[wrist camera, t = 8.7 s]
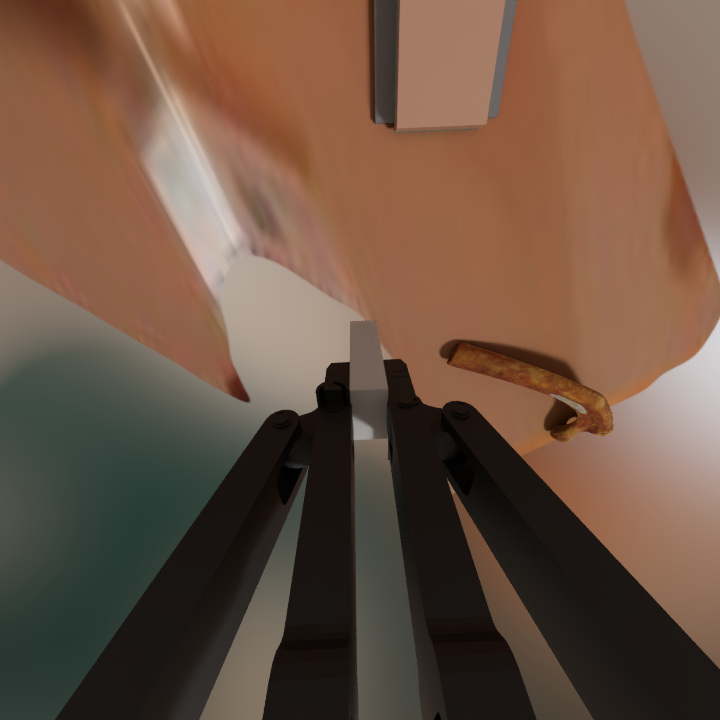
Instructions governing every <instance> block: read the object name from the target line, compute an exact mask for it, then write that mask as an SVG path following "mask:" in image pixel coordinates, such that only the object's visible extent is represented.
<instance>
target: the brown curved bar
mask: <svg viewBox="0 0 720 720" xmlns="http://www.w3.org/2000/svg"><path fill="white" fill-rule="evenodd" d="M447 364H448V365H451V366H454V367H457V368H461V369H465V370H469V371H473V372H476V373H479V374H483V375H487V376H491V377H494V378H498V379H502V380H505V381H508V382H511V383H514V384H517V385H520V386H524V387H527V388H529V389H533V390H536V391H538V392H541V393H544V394H546V395H549V396H551V397H554V398H556V399H558V400H560V401H562V402H564V403H566V404H567V405H569V406H570V407H571V408H572V409H574V410H575V411H576V412H577V415H578V418H577V419H576V420H575V421H574V422H572V423H570V424H567V425H557V426H554V427H553V428H552V429H551V432H550V435H551V436H552V437H553V438H554V439H556V440H558V441H561V442H569V441H570V440H571V439H572V438H573V437H574V436H575V435H576V434H578V433H579V432H590V433H593V434H595V435H600V436H606V435H608V434H609V433H611V432H612V431H613V427H614V425H613V416H612V412H611V409H610V407H609V404H608V403H607V400H606V399H605V397H604V396H603V395H602V394H600V393H599V392H596V391H594V390H592V389H590V388H588V387H586V386H583V385H581V384H579V383H577V382H574V381H572V380H569V379H567V378H565V377H563V376H560V375H557V374H555V373H552V372H549V371H547V370H544V369H541V368H539V367H536V366H533V365H530V364H527V363H525V362H522V361H519V360H515V359H512V358H510V357H507V356H505V355H503V354H498V353H495V352H492V351H489V350H486V349H483V348H480V347H476V346H473V345H470V344H468V343H464V342H459V343H458V344H457V345H456V347H455V348H454V350H453V351H452V352H451V354H450V358H449V360H448V361H447Z"/></svg>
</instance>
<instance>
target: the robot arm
mask: <svg viewBox="0 0 720 720" xmlns="http://www.w3.org/2000/svg"><path fill="white" fill-rule="evenodd" d="M316 397H317V403H318V408H317V409H316V410H314V411H312V412H310V413H307V414H304V415H301V416H298V414H297V413H296V412H294V411H291V410H281V411H278V412H275V413H274V414H271V415H270V416H269V417H268V418H267V419H266V420H265V422H264V423H263V425H262V426H261V427H260V429H259V430H258V432H257V433H256V434H255V436H254V437H253V439H252V440H251V442H250V443H249V444H248V446H247V447H246V449H245V450H244V452H243V453H242V454H241V456H240V457H239V459H238V460H237V461H236V463H235V464H234V466H233V467H232V469H231V470H230V472H229V473H228V474H227V476H226V477H225V479H224V480H223V481H222V483H221V484H220V486H219V487H218V489H217V490H216V491H215V493H214V494H213V496H212V497H211V499H210V500H209V501H208V503H207V504H206V506H205V507H204V509H203V510H202V511H201V513H200V514H199V516H198V517H197V518H196V520H195V521H194V523H193V524H192V526H191V527H190V528H189V530H188V531H187V533H186V534H185V536H184V537H183V538H182V540H181V541H180V543H179V544H178V545H177V547H176V548H175V550H174V551H173V553H172V554H171V556H170V557H169V558H168V560H167V561H166V563H165V564H164V565H163V567H162V568H161V570H160V571H159V573H158V574H157V575H156V577H155V578H154V580H153V581H152V582H151V584H150V585H149V587H148V588H147V590H146V591H145V592H144V594H143V595H142V597H141V598H140V600H139V601H138V603H137V604H136V605H135V607H134V608H133V610H132V611H131V613H130V614H129V615H128V617H127V618H126V619H125V621H124V622H123V624H122V625H121V627H120V628H119V629H118V631H117V632H116V634H115V635H114V637H113V638H112V639H111V641H110V642H109V644H108V645H107V647H106V648H105V649H104V651H103V652H102V654H101V655H100V657H99V658H98V659H97V661H96V662H95V664H94V665H93V666H92V668H91V669H90V671H89V672H88V674H87V675H86V676H85V678H84V679H83V681H82V682H81V684H80V685H79V687H78V688H77V689H76V691H75V692H74V694H73V695H72V696H71V698H70V699H69V701H68V702H67V703H66V705H65V706H64V708H63V709H62V711H61V712H60V714H59V715H58V716H57V718H56V719H55V720H199V719H200V716H201V714H202V712H203V709H204V707H205V705H206V703H207V700H208V698H209V696H210V693H211V691H212V689H213V686H214V684H215V682H216V679H217V677H218V675H219V673H220V670H221V668H222V666H223V663H224V661H225V659H226V656H227V654H228V652H229V649H230V647H231V645H232V642H233V640H234V638H235V635H236V633H237V631H238V629H239V626H240V624H241V622H242V619H243V617H244V615H245V613H246V610H247V608H248V605H249V603H250V601H251V599H252V596H253V594H254V592H255V589H256V587H257V585H258V583H259V580H260V578H261V576H262V573H263V571H264V569H265V566H266V564H267V562H268V559H269V557H270V555H271V552H272V550H273V548H274V545H275V543H276V541H277V539H278V536H279V534H280V532H281V529H282V527H283V525H284V523H285V520H286V518H287V515H288V513H289V511H290V509H291V506H292V504H293V502H294V499H295V497H296V495H297V493H298V490H299V488H300V485H301V483H302V481H303V478H304V476H305V474H306V472H307V470H308V466H309V470H308V477H307V485H306V491H305V497H304V504H303V510H302V517H301V523H300V530H299V537H298V543H297V550H296V557H295V563H294V570H293V576H292V583H291V590H290V596H289V603H288V609H287V616H286V622H285V628H284V634H283V638H282V641H281V643H280V645H279V647H278V649H277V651H276V653H275V657H274V660H273V663H272V668H271V673H270V678H269V683H268V689H267V695H266V701H265V707H264V714H263V719H262V720H359V718H358V683H357V643H356V642H357V638H356V637H357V636H356V555H355V554H356V553H355V473H354V472H355V470H354V440H361V439H381V438H387V434H388V460H390V465H391V472H392V479H393V487H394V495H395V502H396V509H397V517H398V524H399V531H400V539H401V546H402V554H403V560H404V568H405V576H406V583H407V590H408V598H409V605H410V612H411V620H412V627H413V634H414V642H415V649H416V657H417V665H418V678H419V693H420V703H421V711H422V719H423V720H536V717H535V714H534V711H533V708H532V705H531V702H530V699H529V697H528V694H527V691H526V688H525V685H524V682H523V679H522V676H521V673H520V670H519V668H518V665H517V663H516V660H515V658H514V655H513V653H512V651H511V649H510V647H509V645H508V643H507V642H506V640H505V639H504V638H503V637H502V636H501V634H500V633H499V632H498V631H497V629H496V627H495V625H494V623H493V620H492V617H491V614H490V611H489V608H488V605H487V602H486V599H485V596H484V593H483V590H482V586H481V583H480V580H479V578H478V574H477V571H476V568H475V565H474V562H473V559H472V556H471V552H470V549H469V546H468V543H467V540H466V537H465V534H464V531H463V528H462V525H461V521H460V519H459V515H458V512H457V509H456V506H455V503H454V500H453V497H452V494H451V491H450V487H449V484H448V481H449V482H450V484H451V486H452V487H453V489H454V490H455V492H456V494H457V495H458V497H459V499H460V500H461V502H462V504H463V505H464V507H465V508H466V510H467V512H468V513H469V515H470V517H471V518H472V520H473V522H474V523H475V525H476V527H477V528H478V530H479V531H480V533H481V535H482V536H483V538H484V540H485V541H486V543H487V545H488V546H489V548H490V550H491V551H492V553H493V555H494V556H495V558H496V560H497V561H498V563H499V564H500V566H501V568H502V569H503V571H504V572H505V574H506V576H507V578H508V579H509V581H510V583H511V584H512V586H513V587H514V589H515V591H516V592H517V594H518V596H519V597H520V599H521V601H522V602H523V604H524V606H525V607H526V609H527V610H528V612H529V614H530V615H531V617H532V619H533V620H534V622H535V624H536V625H537V627H538V629H539V630H540V632H541V634H542V635H543V637H544V638H545V640H546V642H547V643H548V645H549V647H550V648H551V650H552V652H553V653H554V655H555V657H556V658H557V660H558V661H559V663H560V665H561V666H562V668H563V670H564V671H565V673H566V674H567V676H568V678H569V680H570V681H571V683H572V684H573V686H574V688H575V689H576V691H577V693H578V694H579V696H580V698H581V699H582V701H583V702H584V704H585V706H586V708H587V709H588V711H589V712H590V714H591V716H592V717H593V719H594V720H720V669H719V668H718V667H717V666H716V665H715V664H714V663H713V662H712V661H711V659H710V658H709V657H708V656H707V655H706V654H705V653H704V652H703V651H702V650H701V649H700V648H699V647H698V646H697V645H696V643H695V642H694V641H693V640H692V639H691V638H690V637H689V636H688V635H687V634H686V633H685V632H684V631H683V630H682V628H681V627H680V626H679V625H678V624H677V623H676V622H675V621H674V620H673V619H672V618H671V617H670V616H669V615H668V614H667V612H666V611H665V610H663V608H662V607H661V606H660V605H659V604H658V603H657V602H656V601H655V600H654V599H653V597H652V596H651V595H650V594H649V593H648V592H647V591H646V590H645V589H644V588H643V587H642V586H641V585H640V584H639V583H638V581H637V580H636V579H635V578H634V577H633V576H632V575H631V574H630V573H629V572H628V571H627V570H626V569H625V568H624V567H623V565H621V563H620V562H619V561H618V560H617V559H616V558H615V557H614V556H613V555H612V554H611V553H610V552H609V550H608V549H607V548H606V547H605V546H604V545H603V544H602V543H601V542H600V541H599V540H598V539H597V538H596V537H595V535H594V534H593V533H592V532H591V531H590V530H589V529H588V528H587V527H586V526H585V525H584V524H583V523H582V522H581V521H580V519H579V518H578V517H577V516H576V515H575V514H574V513H573V512H572V511H571V510H570V509H569V508H568V507H567V506H566V505H565V504H564V502H563V501H562V500H561V499H560V498H559V497H558V496H557V495H556V494H555V493H554V492H553V491H552V490H551V489H550V487H549V486H548V485H547V484H546V483H545V482H544V481H543V480H542V479H541V478H540V477H539V476H538V475H537V474H536V473H535V471H534V470H533V469H532V468H531V467H530V466H529V465H528V464H527V463H526V462H525V461H524V460H523V459H522V458H521V456H520V455H519V454H518V453H517V452H516V451H515V450H514V449H513V448H512V447H511V446H510V445H509V444H508V443H507V441H506V440H505V439H504V438H503V437H502V436H501V435H500V434H499V433H498V432H497V431H496V430H495V429H494V428H493V427H492V425H491V424H490V423H489V422H488V421H487V420H486V419H485V418H484V417H483V416H482V415H481V414H480V413H479V412H478V411H477V409H476V408H474V407H473V406H472V405H470V404H468V403H465V402H461V401H451V402H448V403H446V404H445V405H444V406H443V409H442V408H436V407H431V406H428V405H426V404H423V403H422V401H421V400H420V398H419V397H417V396H416V394H415V391H414V388H413V385H412V381H411V378H410V375H409V372H408V368H407V365H406V364H405V363H404V362H403V361H402V360H401V359H391V360H383V357H382V353H381V346H380V341H379V335H378V329H377V324H376V320H373V321H352V322H350V362H343V363H331V364H330V365H329V367H328V368H327V370H326V377H325V382H323V383H321V384H320V385H319V386H318V387H317V389H316ZM446 477H447V478H446ZM447 479H448V481H447Z"/></svg>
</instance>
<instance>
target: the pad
mask: <svg viewBox="0 0 720 720" xmlns="http://www.w3.org/2000/svg"><path fill="white" fill-rule="evenodd" d="M516 2H517V0H505V7H504V13H503V20H502V26H501V33H500V39H499V46H498V52H497V59H496V65H495V72H494V78H493V85H492V91H491V98H490V104H489V111H488V118H496V117H498V111H499V105H500V99H501V93H502V87H503V81H504V75H505V69H506V63H507V57H508V51H509V45H510V38H511V32H512V26H513V20H514V14H515V8H516ZM395 50H396V0H374V67H375V124H383V123H394V100H395Z"/></svg>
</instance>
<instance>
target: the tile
mask: <svg viewBox="0 0 720 720" xmlns="http://www.w3.org/2000/svg"><path fill="white" fill-rule="evenodd" d="M504 7H505V0H396V50H395V100H394V133H404V132H426V131H448V130H470V129H478V128H480V127H482V126H484V125H486V124H487V118H488V111H489V104H490V98H491V91H492V85H493V78H494V72H495V65H496V59H497V52H498V46H499V39H500V33H501V26H502V20H503V13H504Z"/></svg>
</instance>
